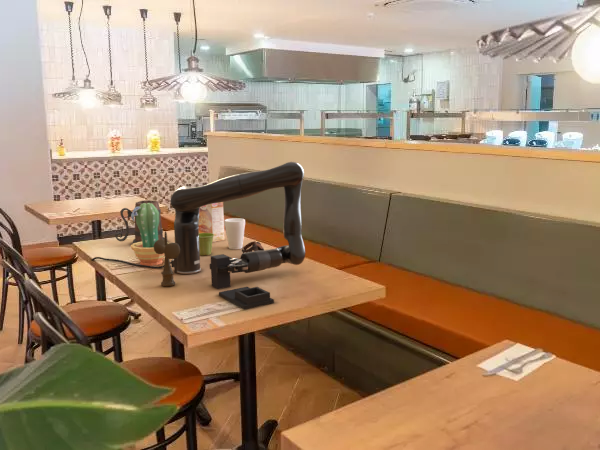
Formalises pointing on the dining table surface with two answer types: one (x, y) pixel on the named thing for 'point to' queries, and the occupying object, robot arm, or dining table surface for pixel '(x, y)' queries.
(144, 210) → the potted cactus
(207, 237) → the plant pot
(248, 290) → the base pad
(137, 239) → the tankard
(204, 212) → the coffeecake box
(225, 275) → the post
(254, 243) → the brown curved piece
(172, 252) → the kendama
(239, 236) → the foam cup
